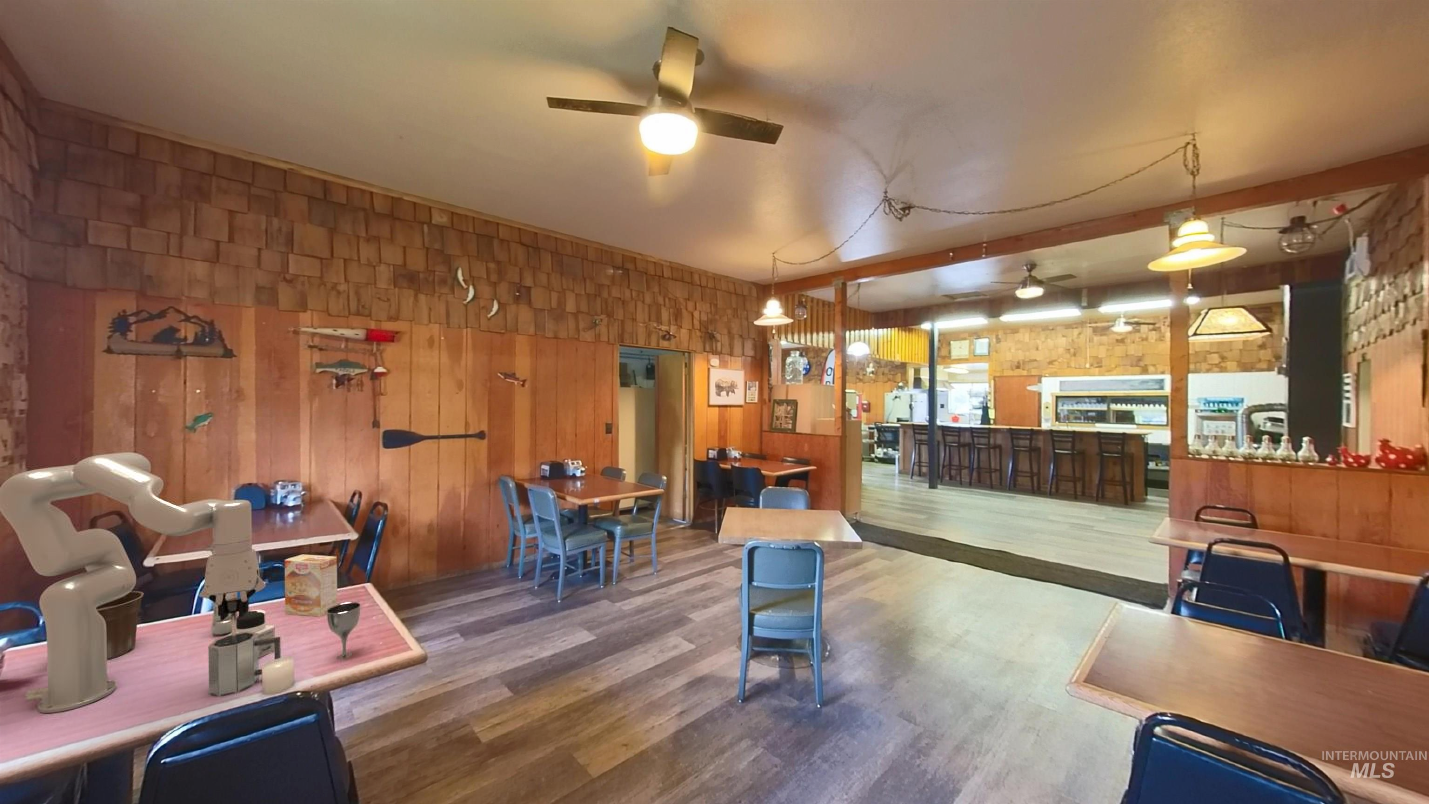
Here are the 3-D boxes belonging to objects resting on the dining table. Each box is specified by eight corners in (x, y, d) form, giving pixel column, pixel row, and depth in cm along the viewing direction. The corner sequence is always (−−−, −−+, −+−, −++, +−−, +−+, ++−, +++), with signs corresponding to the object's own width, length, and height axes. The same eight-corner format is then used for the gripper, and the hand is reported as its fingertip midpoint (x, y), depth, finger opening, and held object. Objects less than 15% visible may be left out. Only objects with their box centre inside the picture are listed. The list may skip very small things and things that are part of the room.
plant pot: (77, 673, 143) (76, 616, 143) (47, 663, 148) (46, 608, 148) (156, 646, 158) (155, 594, 158) (126, 638, 164) (125, 588, 163)
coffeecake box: (284, 614, 182) (283, 559, 181) (303, 606, 189) (302, 553, 188) (320, 617, 179) (319, 562, 179) (338, 608, 186) (337, 555, 186)
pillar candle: (258, 698, 131) (257, 671, 131) (268, 685, 137) (267, 660, 137) (289, 692, 133) (288, 666, 133) (298, 680, 139) (297, 654, 139)
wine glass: (363, 657, 152) (363, 607, 151) (330, 667, 146) (330, 615, 146) (357, 648, 157) (356, 599, 157) (325, 658, 151) (324, 607, 151)
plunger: (214, 669, 132) (213, 606, 131) (223, 658, 137) (223, 597, 137) (244, 663, 134) (244, 601, 134) (252, 653, 140) (252, 593, 139)
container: (247, 663, 148) (247, 619, 148) (226, 661, 150) (226, 617, 149) (275, 650, 156) (275, 608, 155) (255, 648, 157) (255, 606, 157)
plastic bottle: (242, 631, 168) (241, 571, 168) (214, 639, 163) (213, 577, 162) (235, 626, 172) (235, 567, 172) (208, 634, 166) (207, 573, 166)
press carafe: (203, 702, 129) (202, 651, 129) (218, 683, 138) (217, 636, 138) (274, 687, 136) (274, 639, 136) (285, 670, 144) (284, 625, 144)
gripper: (184, 556, 128) (185, 628, 128) (267, 547, 136) (268, 615, 136) (197, 548, 135) (198, 617, 135) (276, 540, 142) (277, 605, 142)
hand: (233, 615), depth 135 cm, fingers closed on plunger, 3 cm apart
